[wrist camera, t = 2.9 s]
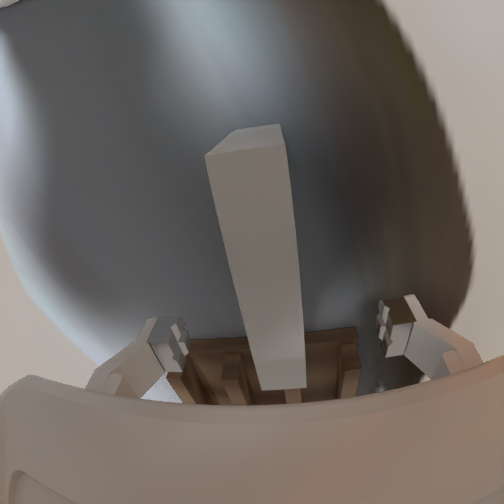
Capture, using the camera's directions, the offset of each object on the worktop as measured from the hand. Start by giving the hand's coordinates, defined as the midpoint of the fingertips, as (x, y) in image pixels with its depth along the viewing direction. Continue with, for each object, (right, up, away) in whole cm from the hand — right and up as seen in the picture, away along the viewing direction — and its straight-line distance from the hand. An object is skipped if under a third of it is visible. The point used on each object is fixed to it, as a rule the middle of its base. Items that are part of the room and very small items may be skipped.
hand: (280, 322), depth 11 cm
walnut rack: (+1, -10, +14) cm, 17 cm away
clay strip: (0, +4, +6) cm, 7 cm away
